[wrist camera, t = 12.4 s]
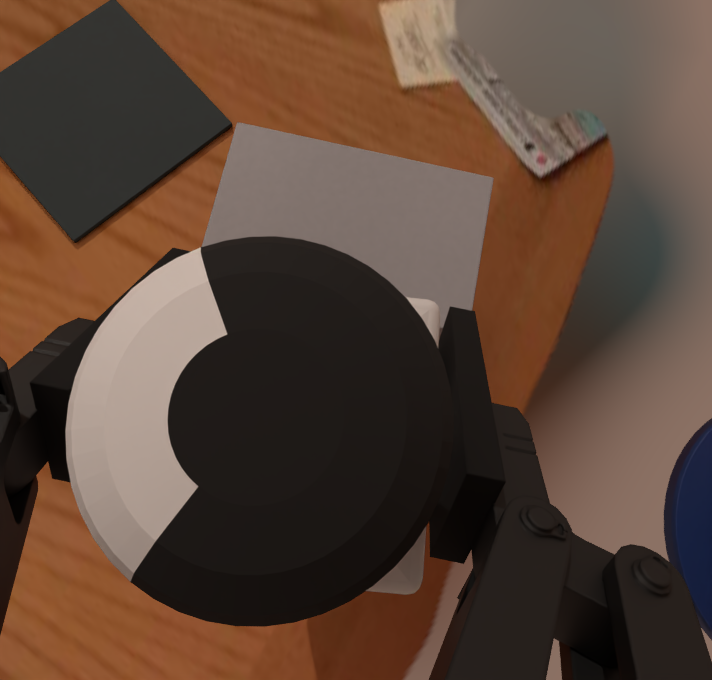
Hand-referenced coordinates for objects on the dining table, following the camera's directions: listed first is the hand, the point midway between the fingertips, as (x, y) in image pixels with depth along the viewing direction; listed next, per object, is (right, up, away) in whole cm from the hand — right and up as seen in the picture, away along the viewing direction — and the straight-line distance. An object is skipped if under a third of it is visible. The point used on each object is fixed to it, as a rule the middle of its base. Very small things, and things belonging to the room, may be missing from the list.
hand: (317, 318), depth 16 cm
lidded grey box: (0, +1, +24) cm, 24 cm away
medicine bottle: (-1, -4, +4) cm, 6 cm away
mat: (-21, +18, +26) cm, 38 cm away
